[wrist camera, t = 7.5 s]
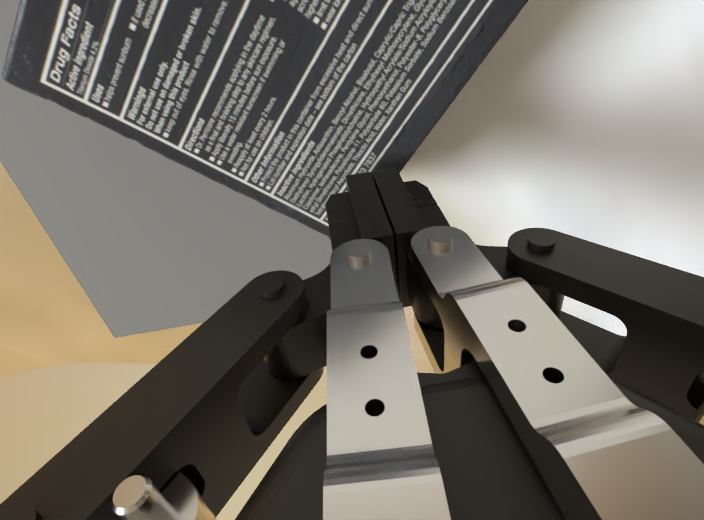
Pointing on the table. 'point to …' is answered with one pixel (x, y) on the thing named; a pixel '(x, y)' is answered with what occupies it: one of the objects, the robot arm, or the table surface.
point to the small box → (260, 82)
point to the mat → (140, 216)
